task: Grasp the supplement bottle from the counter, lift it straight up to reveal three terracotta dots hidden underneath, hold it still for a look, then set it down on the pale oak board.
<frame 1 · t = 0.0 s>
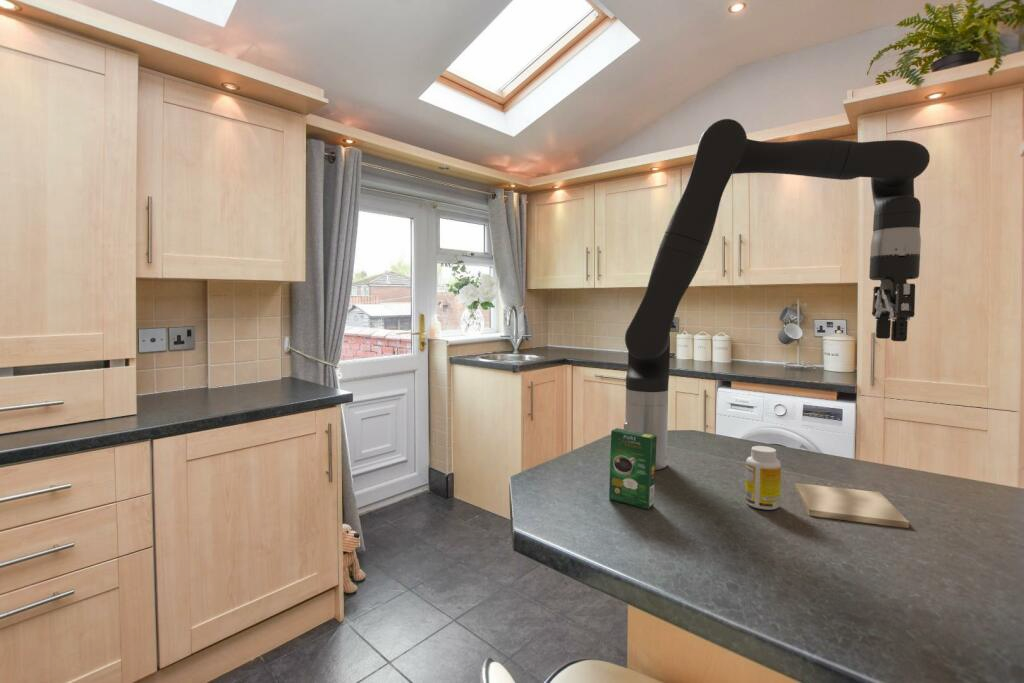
hand: (890, 339, 95), 29 cm above the countertop, fingers open, 8 cm apart
coffee box: (631, 504, 91), on the countertop
supplement bottle: (762, 505, 89), on the countertop, touching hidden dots
oak board: (845, 506, 89), on the countertop
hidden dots: (762, 505, 89), on the countertop
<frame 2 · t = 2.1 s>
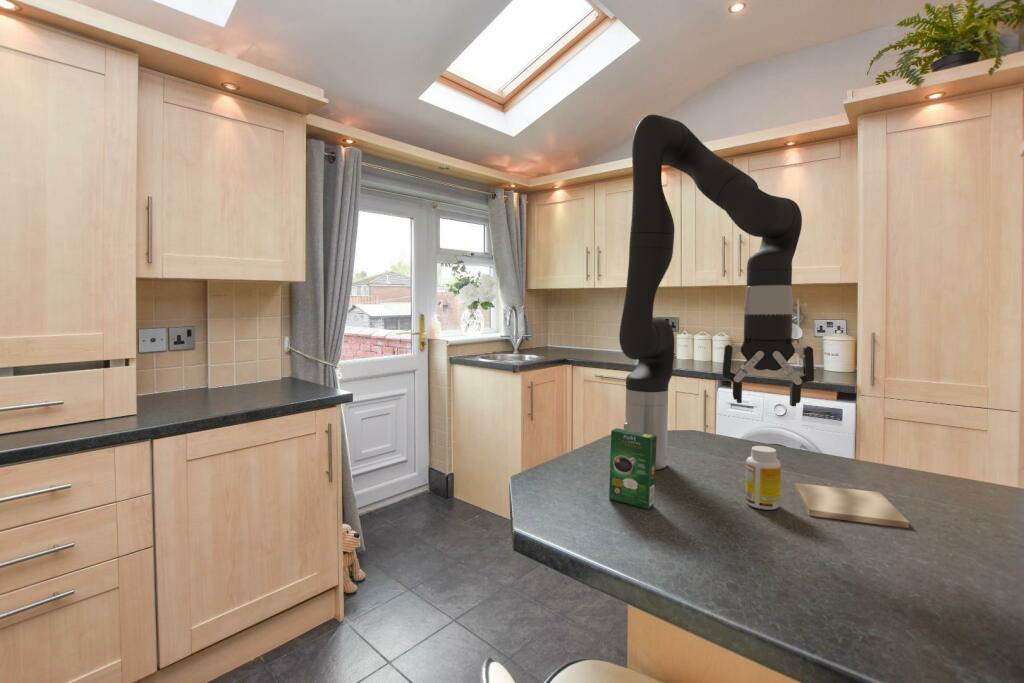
hand: (765, 404, 88), 18 cm above the countertop, fingers open, 8 cm apart
nothing on the countertop moved.
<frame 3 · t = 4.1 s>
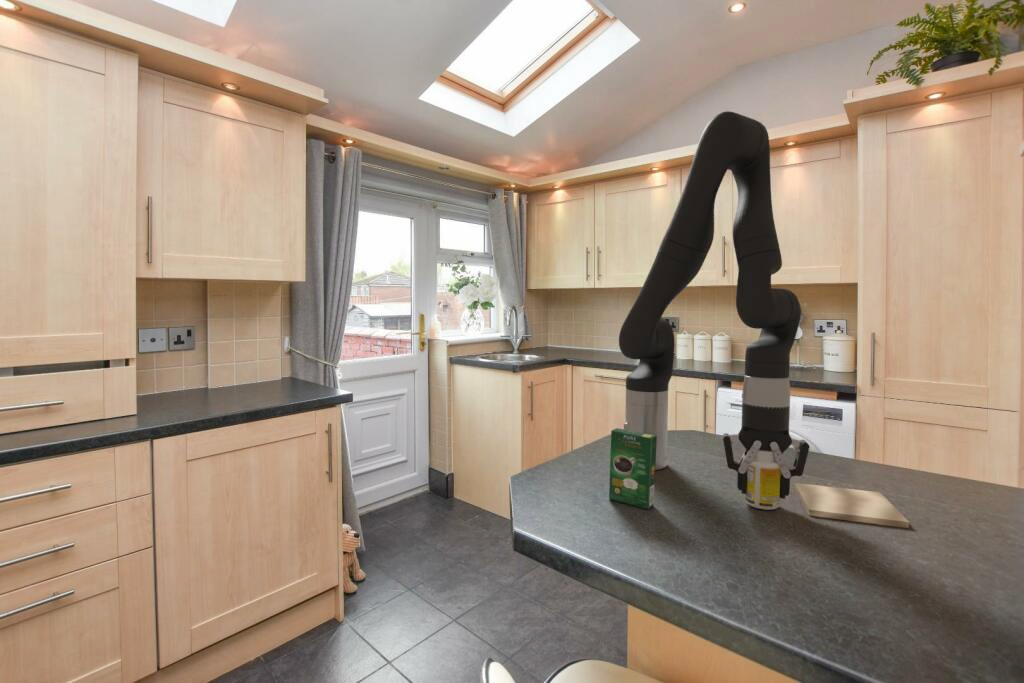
hand: (762, 494, 89), 2 cm above the countertop, fingers closed on supplement bottle, 5 cm apart
supplement bottle: (762, 505, 89), on the countertop, touching gripper, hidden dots
everything else where it was.
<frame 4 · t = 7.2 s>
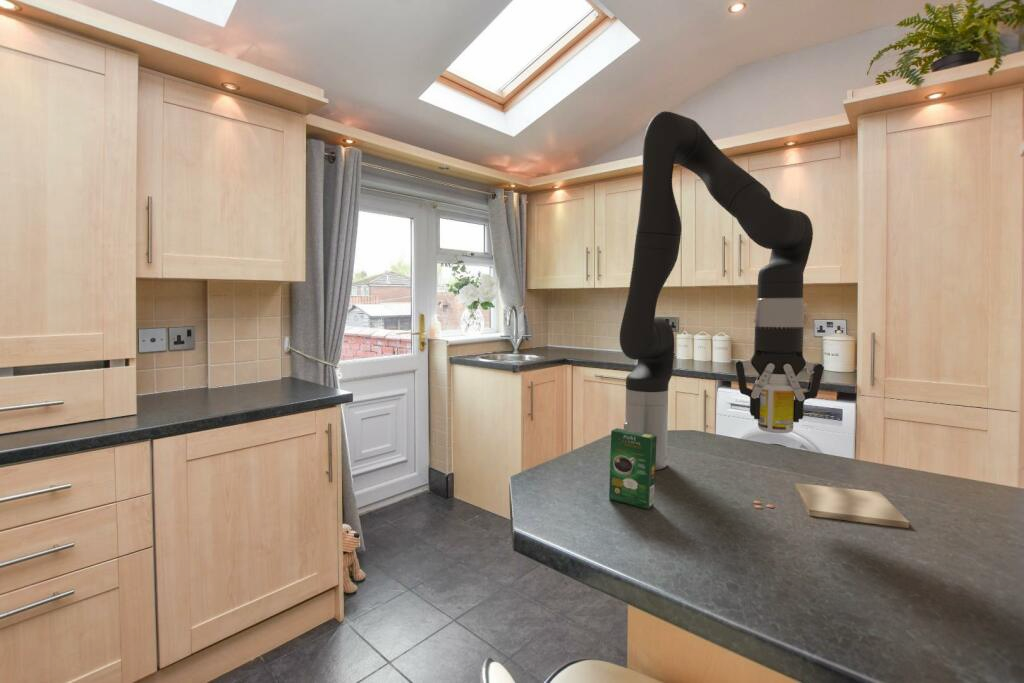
hand: (775, 419, 88), 16 cm above the countertop, fingers closed on supplement bottle, 5 cm apart
supplement bottle: (775, 431, 88), point 13 cm above the countertop, touching gripper
everything else where it was.
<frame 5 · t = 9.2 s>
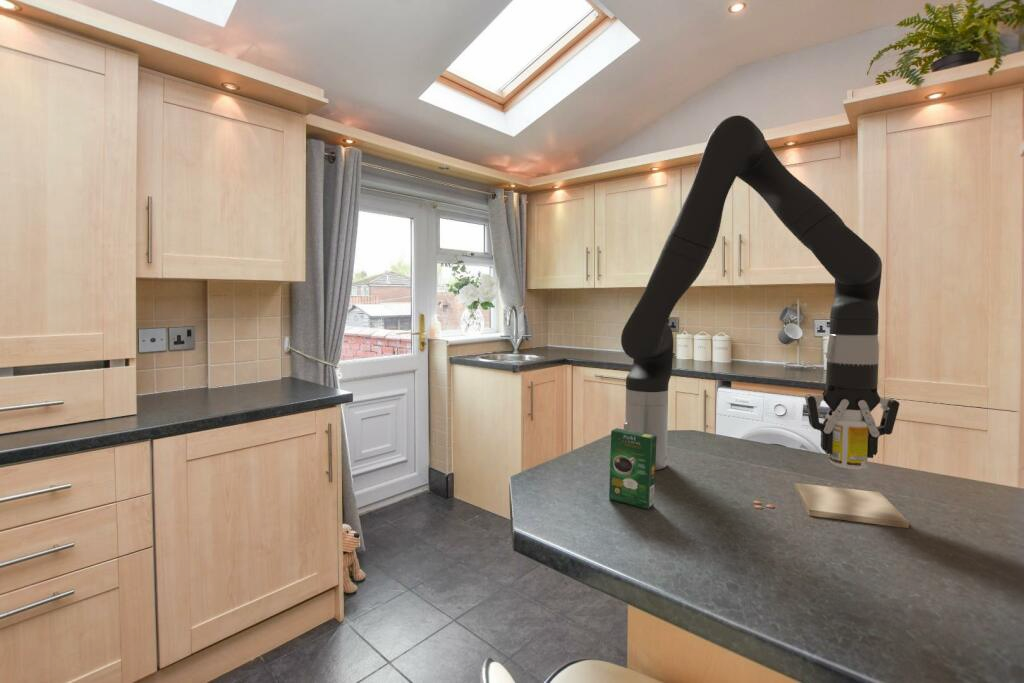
hand: (848, 454, 88), 9 cm above the countertop, fingers closed on supplement bottle, 5 cm apart
supplement bottle: (847, 466, 89), point 7 cm above the countertop, touching gripper
everything else where it was.
when the fingers open (4 cm above the countertop, at t = 10.7 s): supplement bottle stays where it is, resting on oak board.
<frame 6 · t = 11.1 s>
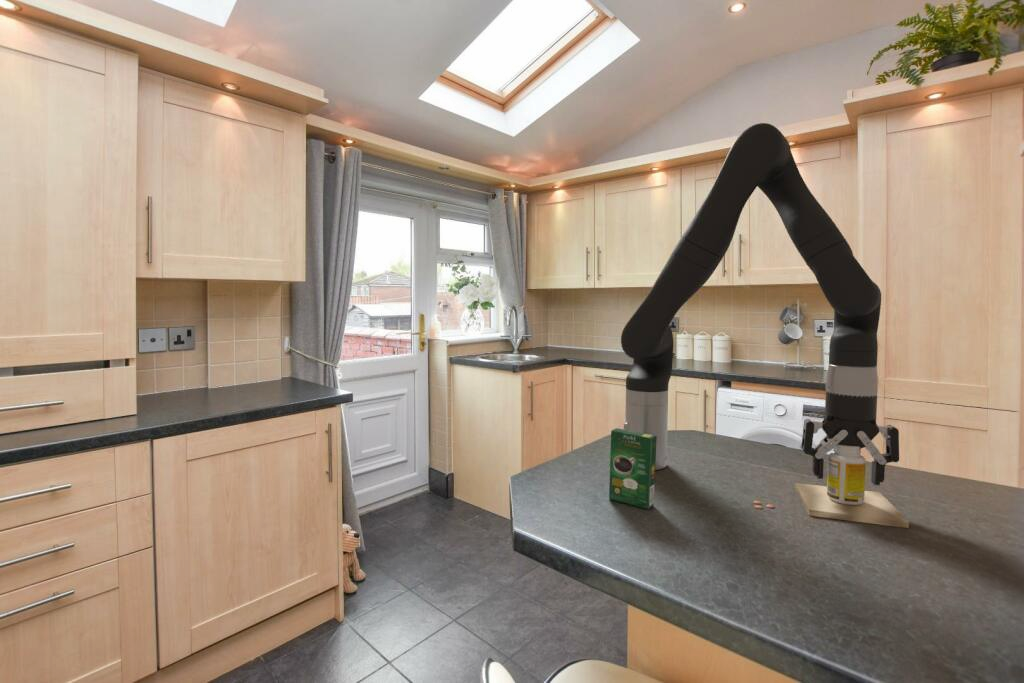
hand: (847, 480, 89), 5 cm above the countertop, fingers open, 8 cm apart
supplement bottle: (844, 501, 89), point 1 cm above the countertop, touching oak board
everything else where it was.
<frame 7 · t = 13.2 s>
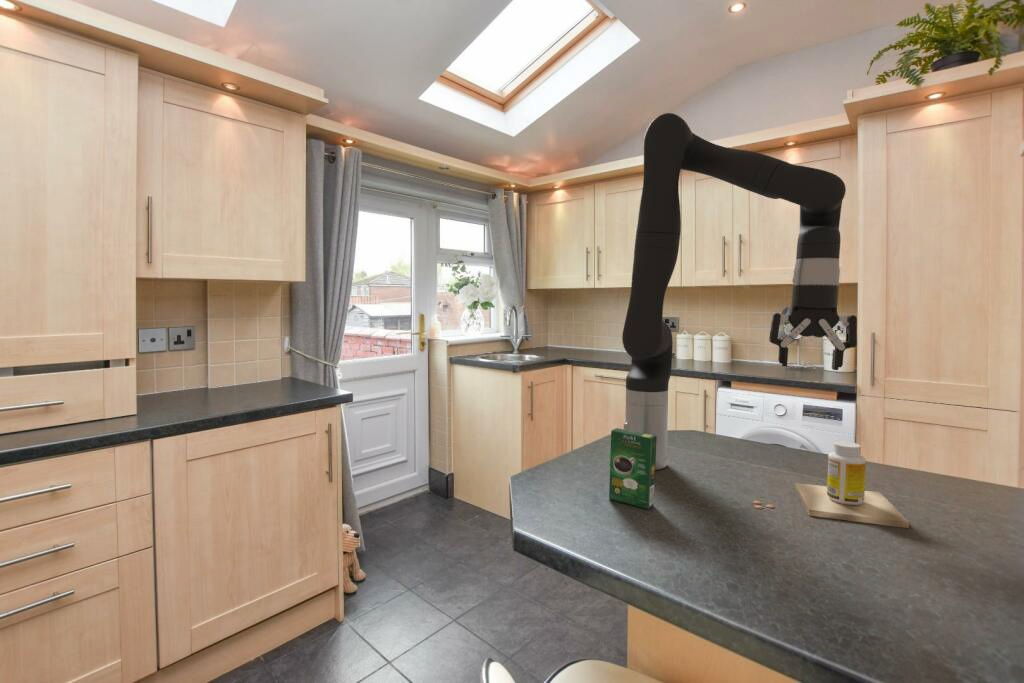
hand: (809, 368, 96), 24 cm above the countertop, fingers open, 8 cm apart
nothing on the countertop moved.
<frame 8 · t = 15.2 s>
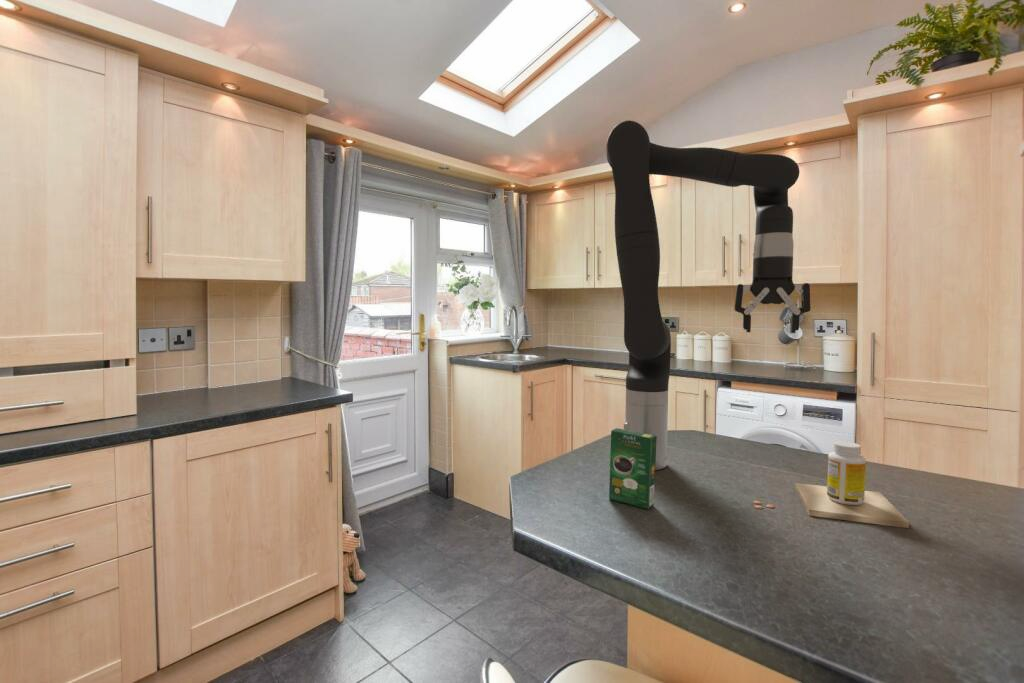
hand: (770, 332, 107), 30 cm above the countertop, fingers open, 8 cm apart
nothing on the countertop moved.
at the end: supplement bottle inside the target area on the oak board (0.2 cm from its centre), point 0.8 cm above the oak board's base; supplement bottle tilted 0°; the gripper is holding nothing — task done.
